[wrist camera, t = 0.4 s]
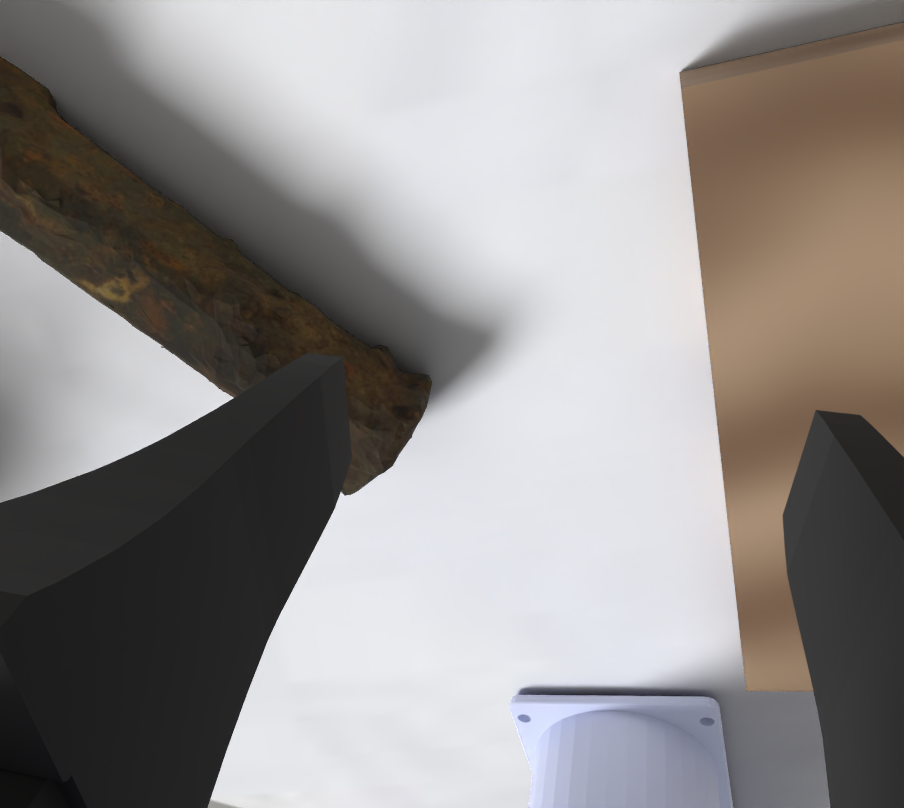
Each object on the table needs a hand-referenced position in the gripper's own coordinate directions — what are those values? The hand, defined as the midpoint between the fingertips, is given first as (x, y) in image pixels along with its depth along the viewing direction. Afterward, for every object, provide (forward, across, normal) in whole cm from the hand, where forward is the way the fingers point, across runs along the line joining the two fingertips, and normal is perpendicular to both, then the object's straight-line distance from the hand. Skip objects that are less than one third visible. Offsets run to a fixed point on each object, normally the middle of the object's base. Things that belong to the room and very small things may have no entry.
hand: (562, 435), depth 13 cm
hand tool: (+10, +13, +2) cm, 17 cm away
